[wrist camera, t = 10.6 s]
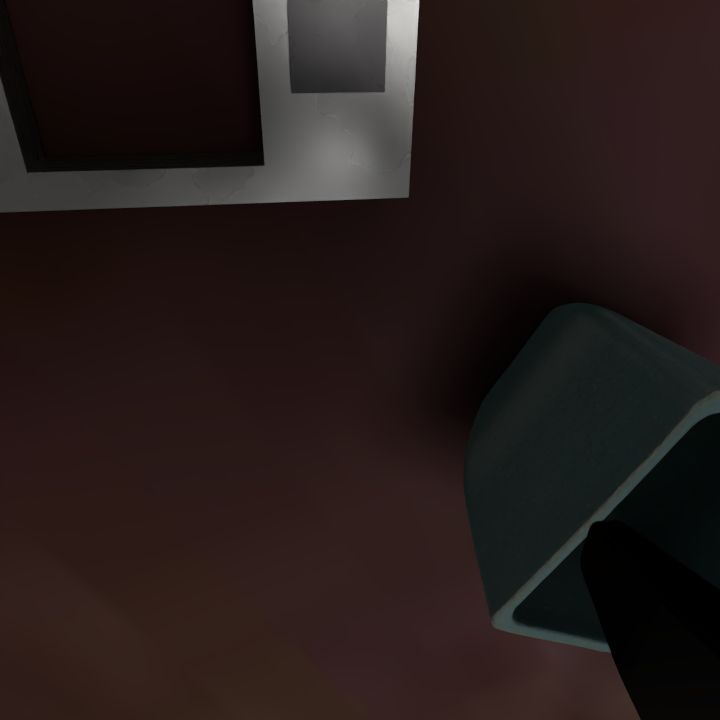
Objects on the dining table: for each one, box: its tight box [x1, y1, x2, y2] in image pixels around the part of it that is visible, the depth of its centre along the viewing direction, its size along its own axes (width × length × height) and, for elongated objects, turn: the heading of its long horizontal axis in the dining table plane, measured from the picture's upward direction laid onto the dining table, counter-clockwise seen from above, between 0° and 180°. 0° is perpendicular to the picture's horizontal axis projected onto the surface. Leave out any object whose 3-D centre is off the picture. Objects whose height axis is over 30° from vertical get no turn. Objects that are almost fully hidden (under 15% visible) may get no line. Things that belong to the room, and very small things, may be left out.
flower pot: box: [464, 303, 720, 652], centre depth 20 cm, size 9×9×9 cm
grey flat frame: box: [0, 0, 419, 212], centre depth 15 cm, size 14×8×2 cm, turn 89°
